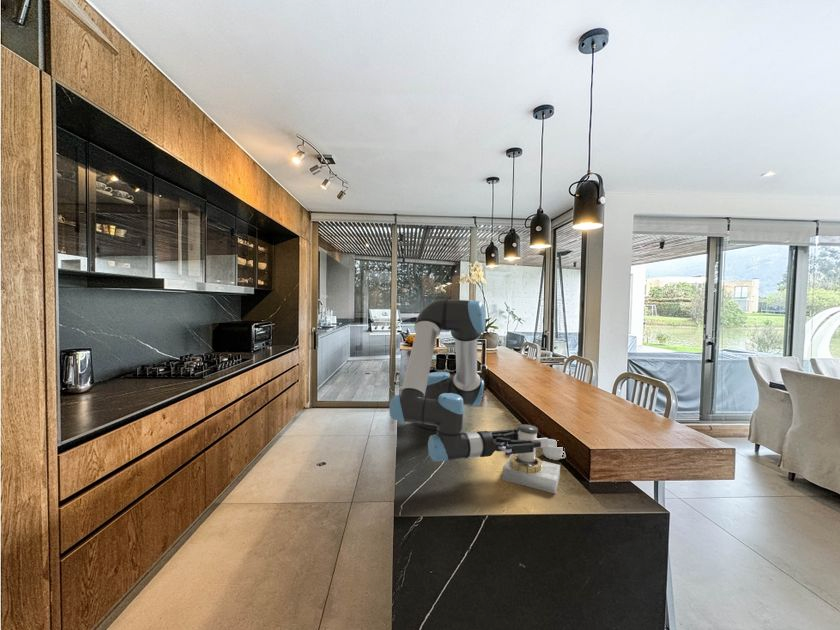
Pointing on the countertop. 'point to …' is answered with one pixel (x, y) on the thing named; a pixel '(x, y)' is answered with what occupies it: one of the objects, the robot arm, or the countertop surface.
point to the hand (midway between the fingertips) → (540, 438)
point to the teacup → (553, 450)
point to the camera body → (532, 473)
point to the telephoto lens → (526, 434)
